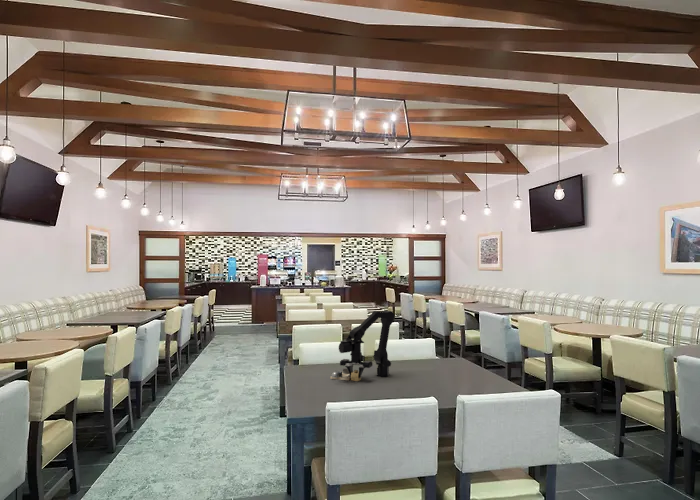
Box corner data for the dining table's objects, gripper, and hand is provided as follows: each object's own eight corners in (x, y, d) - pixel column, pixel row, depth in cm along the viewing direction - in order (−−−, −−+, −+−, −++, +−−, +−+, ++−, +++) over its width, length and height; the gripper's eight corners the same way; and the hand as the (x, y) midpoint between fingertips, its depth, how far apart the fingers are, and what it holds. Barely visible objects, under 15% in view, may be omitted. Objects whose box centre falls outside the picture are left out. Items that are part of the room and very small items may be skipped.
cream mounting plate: (358, 374, 265) (358, 367, 265) (348, 380, 250) (348, 373, 250) (341, 372, 269) (341, 366, 270) (330, 378, 255) (330, 371, 255)
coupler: (361, 379, 253) (361, 369, 253) (358, 381, 248) (358, 371, 249) (354, 378, 254) (354, 368, 255) (351, 380, 250) (351, 370, 250)
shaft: (336, 375, 258) (336, 370, 258) (342, 376, 255) (342, 371, 255) (329, 376, 254) (329, 371, 255) (335, 378, 251) (335, 373, 251)
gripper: (375, 349, 256) (375, 376, 255) (346, 347, 263) (347, 373, 262) (369, 353, 246) (369, 380, 245) (339, 351, 253) (339, 377, 252)
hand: (356, 378), depth 251 cm, fingers closed on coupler, 4 cm apart
